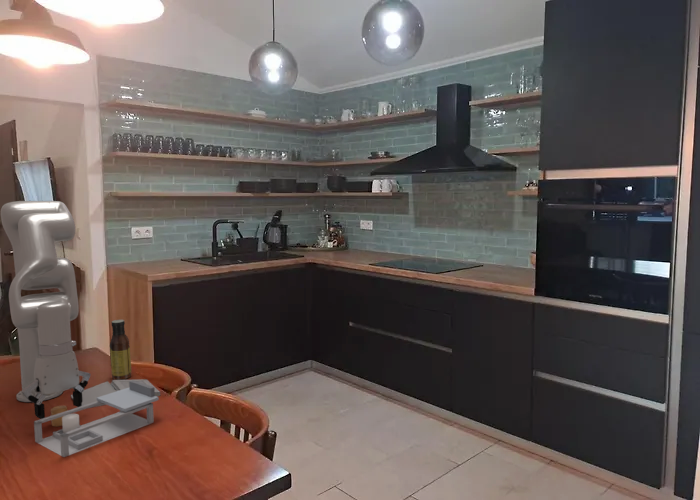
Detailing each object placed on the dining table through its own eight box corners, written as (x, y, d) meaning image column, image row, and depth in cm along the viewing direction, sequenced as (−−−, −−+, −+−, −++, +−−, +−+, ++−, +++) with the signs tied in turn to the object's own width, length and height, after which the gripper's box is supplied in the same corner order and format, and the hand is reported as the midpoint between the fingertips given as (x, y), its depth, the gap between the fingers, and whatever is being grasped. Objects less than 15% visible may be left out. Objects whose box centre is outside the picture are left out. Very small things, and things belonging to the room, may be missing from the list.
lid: (96, 400, 147) (95, 389, 146) (130, 389, 155) (129, 378, 154) (124, 411, 139) (124, 399, 139) (158, 399, 147) (158, 388, 147)
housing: (35, 444, 134) (33, 421, 134) (124, 413, 154) (123, 392, 153) (64, 460, 126) (62, 435, 126) (153, 425, 146) (152, 403, 145)
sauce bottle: (121, 373, 188) (118, 317, 186) (135, 375, 186) (133, 319, 184) (106, 379, 182) (104, 321, 180) (121, 382, 180) (119, 323, 178)
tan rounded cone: (49, 427, 145) (48, 409, 144) (63, 422, 148) (62, 404, 147) (56, 430, 143) (55, 412, 142) (70, 425, 146) (69, 407, 145)
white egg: (60, 436, 137) (59, 417, 137) (75, 431, 140) (74, 412, 140) (67, 440, 135) (66, 420, 135) (82, 434, 138) (81, 415, 138)
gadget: (80, 415, 154) (79, 402, 154) (70, 399, 166) (69, 387, 166) (160, 397, 168) (160, 385, 167) (146, 383, 180) (146, 373, 179)
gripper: (80, 340, 152) (83, 399, 153) (13, 354, 138) (18, 419, 139) (94, 343, 148) (98, 404, 149) (27, 358, 134) (32, 426, 135)
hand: (59, 412), depth 144 cm, fingers open, 9 cm apart
